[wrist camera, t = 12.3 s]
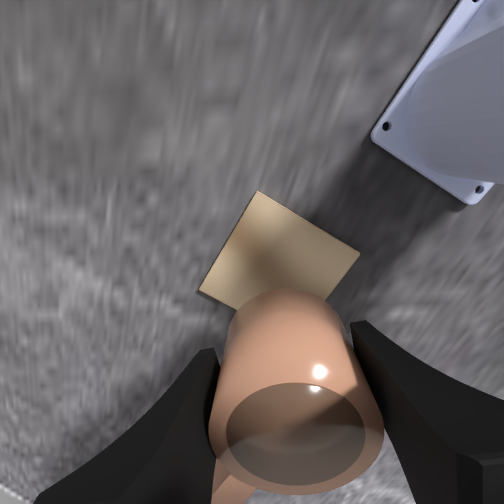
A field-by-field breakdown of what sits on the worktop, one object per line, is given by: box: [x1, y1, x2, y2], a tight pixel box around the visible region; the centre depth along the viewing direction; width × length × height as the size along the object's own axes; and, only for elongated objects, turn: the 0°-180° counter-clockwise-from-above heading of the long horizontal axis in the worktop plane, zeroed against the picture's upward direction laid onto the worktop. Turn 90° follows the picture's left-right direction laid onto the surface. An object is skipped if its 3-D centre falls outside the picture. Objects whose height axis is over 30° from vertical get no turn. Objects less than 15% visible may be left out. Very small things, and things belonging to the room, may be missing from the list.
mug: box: [209, 289, 384, 504], centre depth 12 cm, size 9×6×5 cm, turn 149°
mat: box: [199, 191, 360, 310], centre depth 21 cm, size 8×8×1 cm
